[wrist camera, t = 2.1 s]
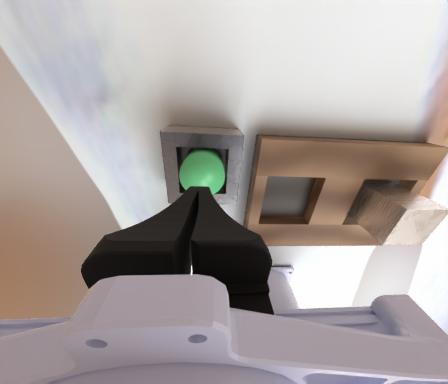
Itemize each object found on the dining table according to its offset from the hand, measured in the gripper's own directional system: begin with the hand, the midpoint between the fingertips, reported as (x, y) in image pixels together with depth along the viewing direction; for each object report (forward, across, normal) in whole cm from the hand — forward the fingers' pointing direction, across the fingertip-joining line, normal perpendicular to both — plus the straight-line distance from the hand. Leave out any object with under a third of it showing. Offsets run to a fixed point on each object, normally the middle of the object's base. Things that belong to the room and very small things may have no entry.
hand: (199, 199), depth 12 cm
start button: (+7, 0, 0) cm, 7 cm away
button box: (+8, 0, 0) cm, 8 cm away
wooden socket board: (+8, -16, +4) cm, 18 cm away
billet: (+8, -21, +4) cm, 23 cm away
